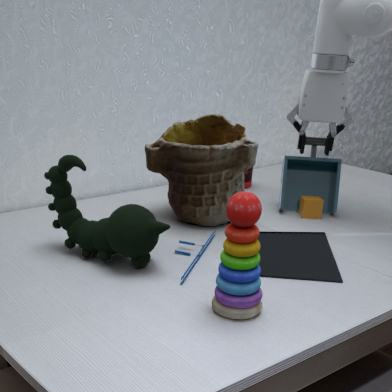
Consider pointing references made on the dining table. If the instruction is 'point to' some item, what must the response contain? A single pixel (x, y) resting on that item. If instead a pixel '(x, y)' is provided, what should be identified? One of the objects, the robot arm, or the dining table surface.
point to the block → (310, 207)
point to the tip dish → (310, 179)
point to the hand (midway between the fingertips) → (313, 152)
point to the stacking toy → (240, 260)
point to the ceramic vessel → (202, 166)
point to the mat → (297, 256)
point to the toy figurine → (102, 222)
